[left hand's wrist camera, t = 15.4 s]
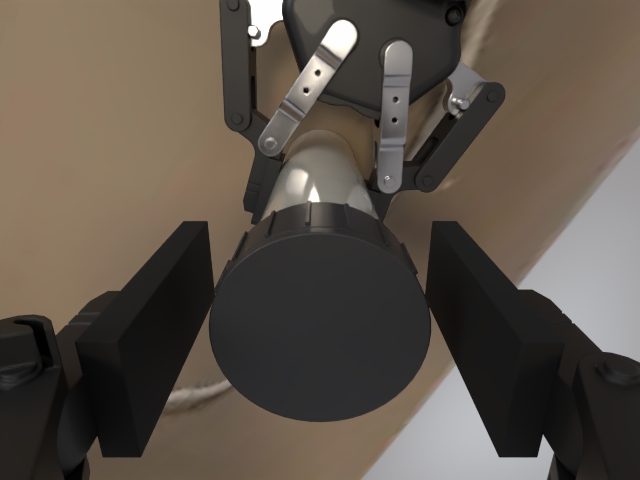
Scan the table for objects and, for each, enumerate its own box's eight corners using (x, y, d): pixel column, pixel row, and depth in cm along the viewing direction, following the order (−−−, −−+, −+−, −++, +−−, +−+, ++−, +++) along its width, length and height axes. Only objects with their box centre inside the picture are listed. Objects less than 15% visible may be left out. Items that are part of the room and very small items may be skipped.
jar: (308, 209, 30) (290, 419, 12) (272, 152, 28) (191, 292, 10) (366, 176, 29) (442, 349, 11) (333, 115, 27) (356, 200, 10)
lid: (431, 342, 13) (453, 398, 11) (262, 384, 13) (251, 444, 11) (390, 174, 11) (407, 200, 9) (196, 231, 12) (168, 268, 9)
